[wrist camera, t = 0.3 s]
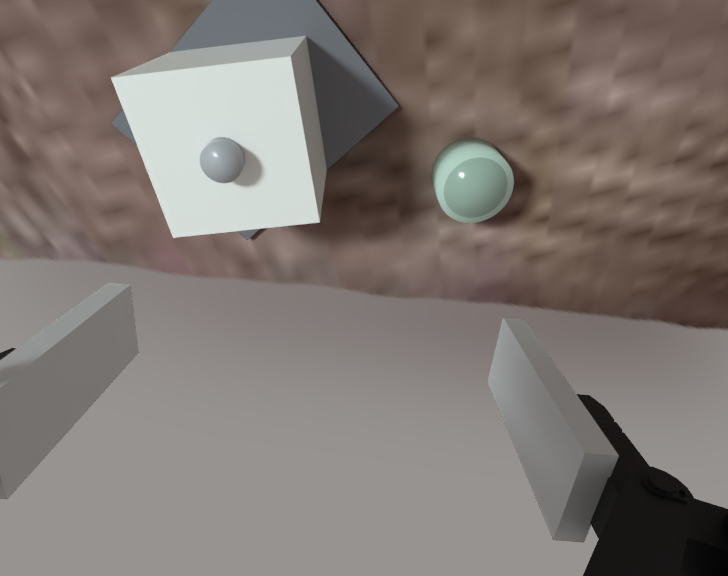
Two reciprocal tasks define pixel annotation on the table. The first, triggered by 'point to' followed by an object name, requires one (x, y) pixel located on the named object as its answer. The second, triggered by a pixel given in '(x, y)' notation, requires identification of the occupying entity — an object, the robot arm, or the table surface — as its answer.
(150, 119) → the box cover
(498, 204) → the bowl
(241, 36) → the rubber mat
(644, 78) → the table surface
